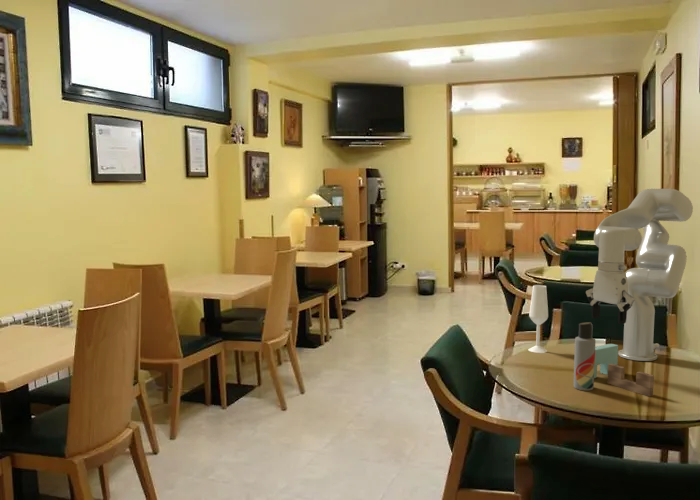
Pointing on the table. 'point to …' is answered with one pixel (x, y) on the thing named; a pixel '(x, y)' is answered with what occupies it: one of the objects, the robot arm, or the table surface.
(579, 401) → the table surface
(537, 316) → the champagne flute
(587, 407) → the table surface
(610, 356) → the teal notched bracket
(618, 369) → the brown u-shaped block
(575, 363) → the lotion bottle
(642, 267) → the robot arm
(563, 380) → the table surface
